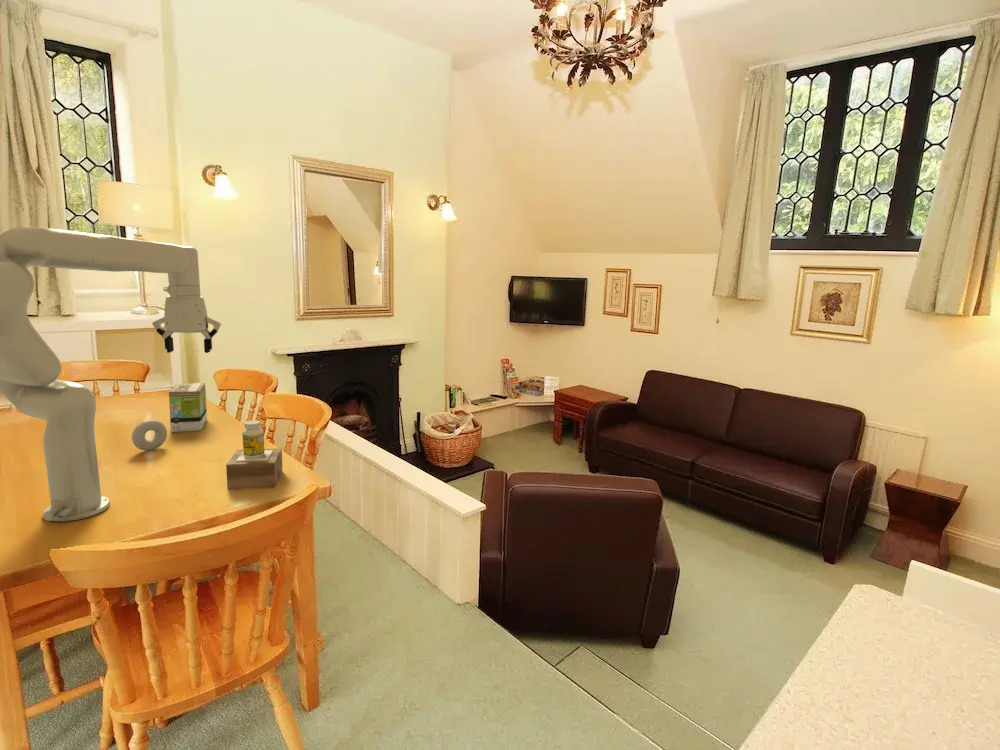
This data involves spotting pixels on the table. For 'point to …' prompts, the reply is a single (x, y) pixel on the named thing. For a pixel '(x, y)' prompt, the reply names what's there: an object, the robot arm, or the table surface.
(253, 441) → the supplement bottle
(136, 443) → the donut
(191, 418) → the tea box
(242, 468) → the walnut block
